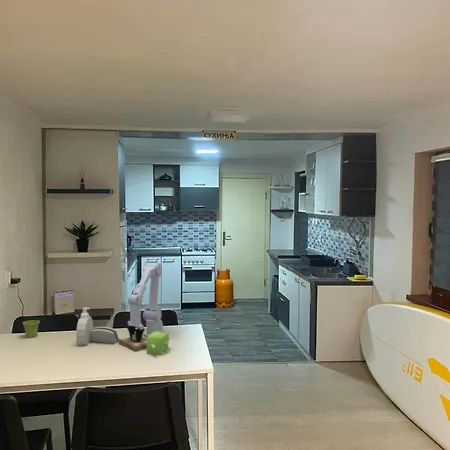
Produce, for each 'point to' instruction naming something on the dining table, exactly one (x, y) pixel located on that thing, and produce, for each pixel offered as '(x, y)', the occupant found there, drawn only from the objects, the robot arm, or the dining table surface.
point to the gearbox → (157, 342)
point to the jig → (134, 344)
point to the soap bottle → (84, 328)
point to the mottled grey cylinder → (134, 337)
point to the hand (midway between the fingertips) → (135, 339)
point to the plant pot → (31, 328)
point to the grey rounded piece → (104, 335)
